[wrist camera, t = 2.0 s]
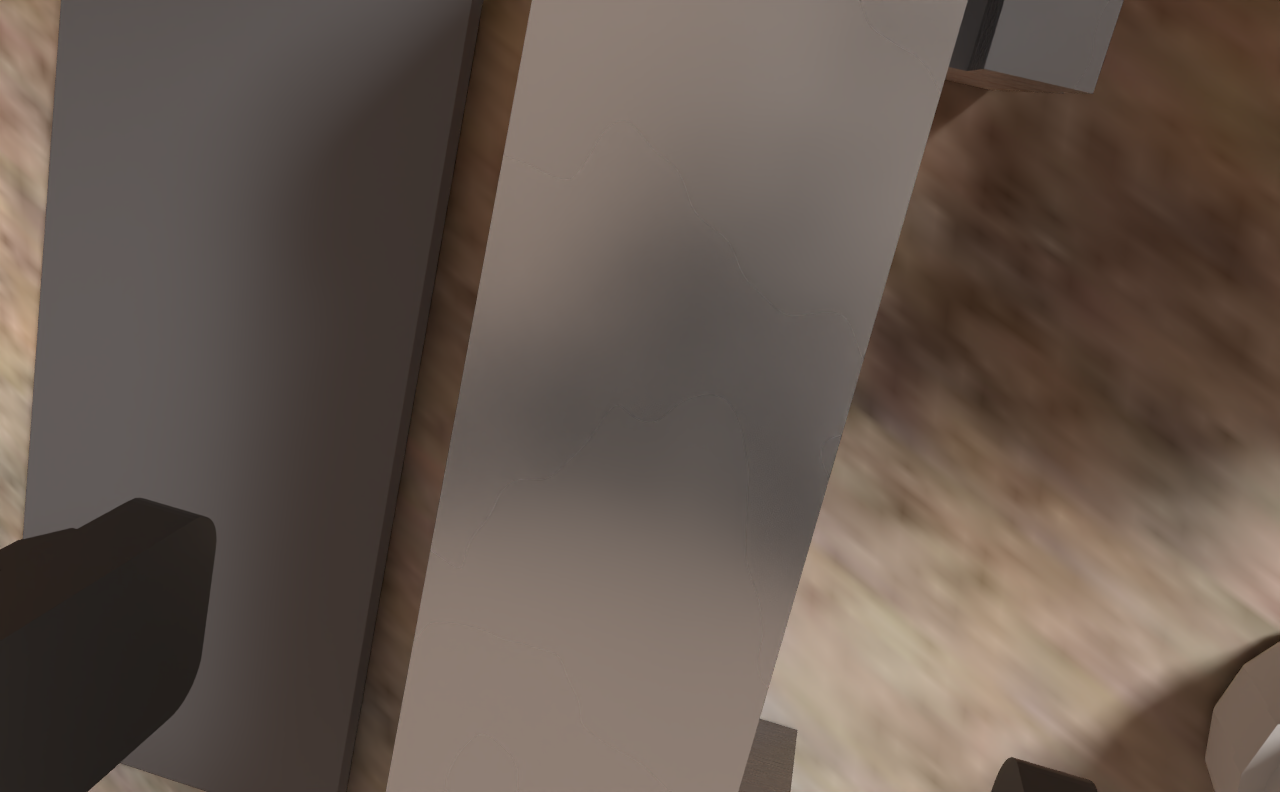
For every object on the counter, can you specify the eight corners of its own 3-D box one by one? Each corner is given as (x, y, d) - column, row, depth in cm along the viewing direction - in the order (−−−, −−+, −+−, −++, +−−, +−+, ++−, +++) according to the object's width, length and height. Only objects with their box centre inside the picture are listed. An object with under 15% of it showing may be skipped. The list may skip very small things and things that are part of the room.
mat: (115, -449, 21) (94, -464, 20) (545, -366, 20) (536, -379, 19) (27, 713, 28) (9, 726, 27) (341, 816, 27) (330, 831, 26)
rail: (717, -467, 12) (657, -684, 8) (1063, -405, 11) (1144, -608, 8) (384, 1150, 18) (275, 1388, 15) (598, 1228, 18) (535, 1490, 14)
